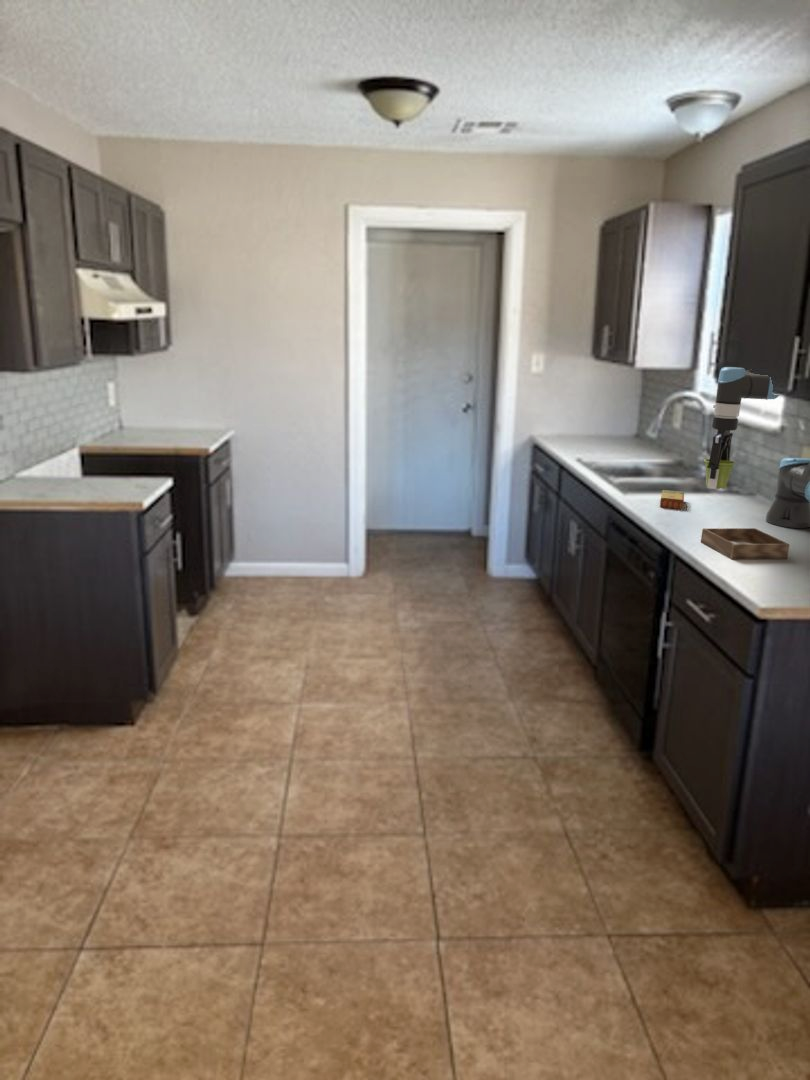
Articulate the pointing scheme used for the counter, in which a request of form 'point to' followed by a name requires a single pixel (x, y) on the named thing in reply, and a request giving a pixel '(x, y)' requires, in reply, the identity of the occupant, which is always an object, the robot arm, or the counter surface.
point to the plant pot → (721, 472)
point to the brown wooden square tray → (744, 543)
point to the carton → (672, 499)
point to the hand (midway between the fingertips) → (715, 486)
